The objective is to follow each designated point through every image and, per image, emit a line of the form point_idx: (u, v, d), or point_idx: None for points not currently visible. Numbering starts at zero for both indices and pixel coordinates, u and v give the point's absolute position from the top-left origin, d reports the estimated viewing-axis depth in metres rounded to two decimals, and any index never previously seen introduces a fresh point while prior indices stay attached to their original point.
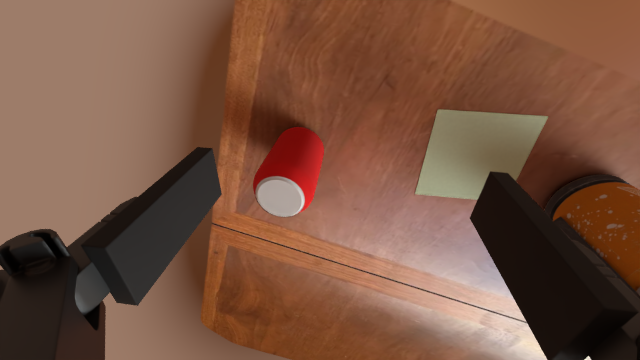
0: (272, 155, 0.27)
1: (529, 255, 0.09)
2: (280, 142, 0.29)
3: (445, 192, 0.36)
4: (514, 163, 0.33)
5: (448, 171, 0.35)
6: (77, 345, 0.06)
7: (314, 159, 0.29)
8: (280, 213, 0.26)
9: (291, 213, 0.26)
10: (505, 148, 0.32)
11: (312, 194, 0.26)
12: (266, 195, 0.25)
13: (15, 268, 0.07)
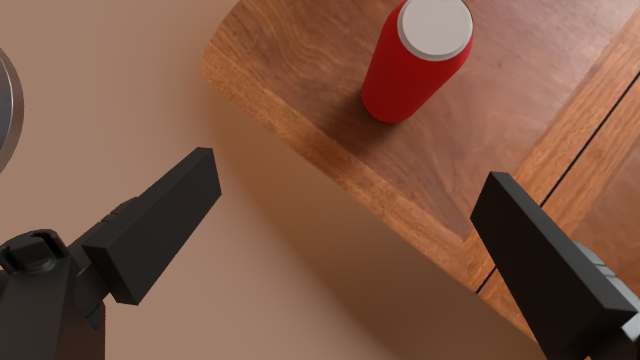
0: (376, 57, 0.20)
1: (529, 255, 0.09)
2: (368, 76, 0.23)
3: None
4: None
5: None
6: (77, 345, 0.06)
7: None
8: (463, 32, 0.17)
9: (467, 16, 0.17)
10: None
11: None
12: (425, 38, 0.17)
13: (15, 268, 0.07)
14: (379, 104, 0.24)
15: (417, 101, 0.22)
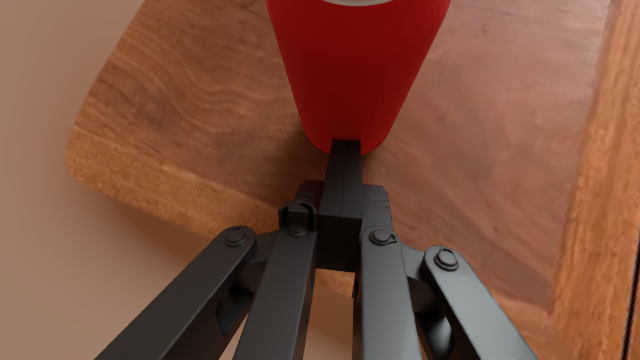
0: (282, 56, 0.10)
1: None
2: (294, 97, 0.14)
3: None
4: None
5: None
6: (304, 315, 0.07)
7: None
8: None
9: None
10: None
11: None
12: None
13: (284, 224, 0.08)
14: (328, 135, 0.14)
15: (387, 109, 0.12)
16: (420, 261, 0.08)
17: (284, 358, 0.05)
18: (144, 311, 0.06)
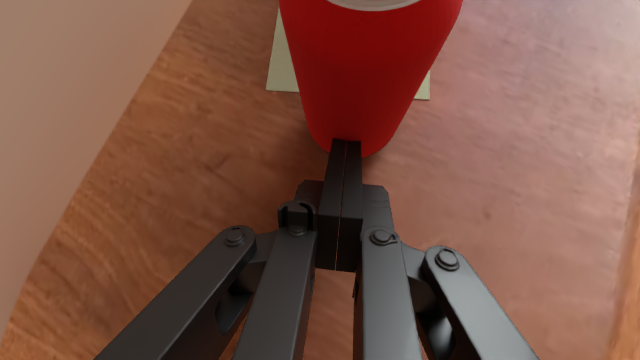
0: (292, 58, 0.11)
1: None
2: (301, 98, 0.14)
3: None
4: None
5: None
6: (304, 315, 0.07)
7: None
8: None
9: None
10: None
11: None
12: None
13: (283, 224, 0.08)
14: (334, 136, 0.14)
15: (394, 112, 0.12)
16: (421, 261, 0.08)
17: (283, 358, 0.05)
18: (143, 311, 0.06)
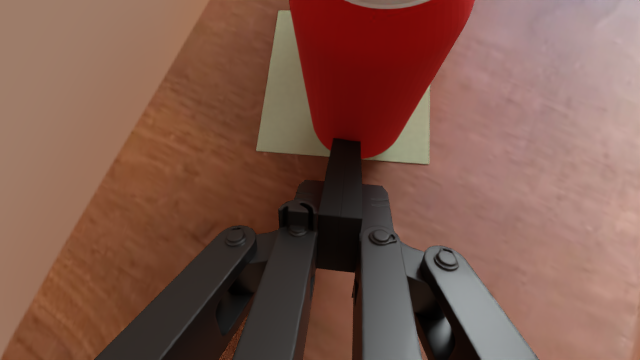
0: (301, 57, 0.11)
1: None
2: (308, 98, 0.14)
3: (419, 110, 0.19)
4: None
5: None
6: (304, 315, 0.07)
7: None
8: None
9: None
10: None
11: None
12: None
13: (284, 224, 0.08)
14: (341, 136, 0.14)
15: (402, 112, 0.12)
16: (420, 261, 0.08)
17: (284, 358, 0.05)
18: (144, 311, 0.06)
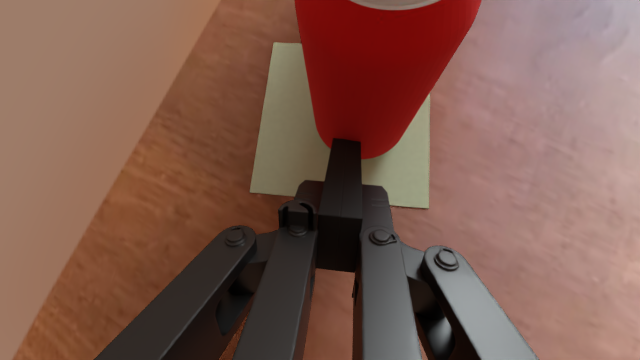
0: (306, 58, 0.11)
1: None
2: (312, 99, 0.14)
3: (418, 150, 0.18)
4: None
5: None
6: (304, 315, 0.07)
7: None
8: None
9: None
10: None
11: None
12: None
13: (284, 224, 0.08)
14: (344, 137, 0.14)
15: (407, 112, 0.12)
16: (420, 261, 0.08)
17: (283, 358, 0.05)
18: (143, 311, 0.06)
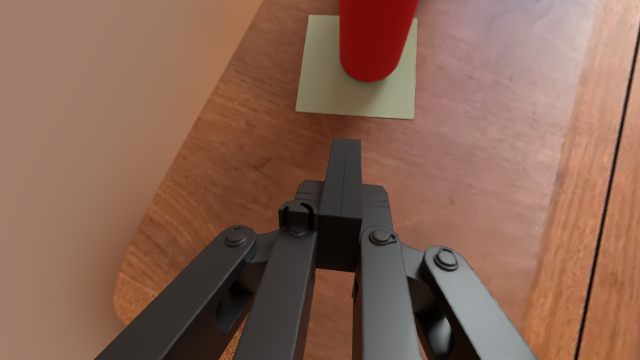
0: (342, 2, 0.20)
1: None
2: (341, 33, 0.23)
3: (407, 83, 0.27)
4: None
5: (374, 86, 0.28)
6: (305, 315, 0.07)
7: None
8: None
9: None
10: None
11: None
12: None
13: (284, 224, 0.08)
14: (360, 58, 0.23)
15: (396, 35, 0.21)
16: (420, 261, 0.08)
17: (284, 358, 0.05)
18: (144, 311, 0.06)
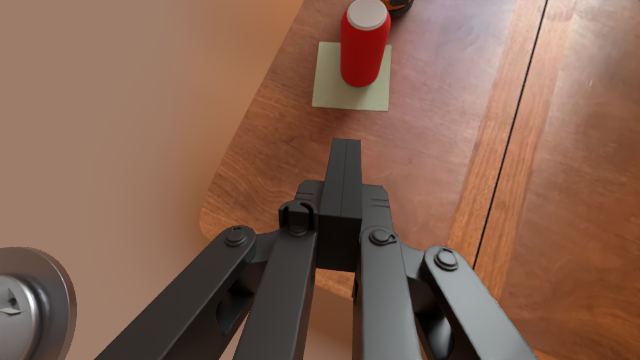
0: (342, 42, 0.35)
1: None
2: (341, 58, 0.38)
3: (384, 88, 0.42)
4: None
5: (362, 89, 0.42)
6: (305, 315, 0.07)
7: None
8: (382, 12, 0.31)
9: (381, 4, 0.32)
10: None
11: None
12: (364, 20, 0.31)
13: (284, 224, 0.08)
14: (353, 73, 0.38)
15: (374, 61, 0.36)
16: (420, 261, 0.08)
17: (284, 358, 0.05)
18: (144, 311, 0.06)
